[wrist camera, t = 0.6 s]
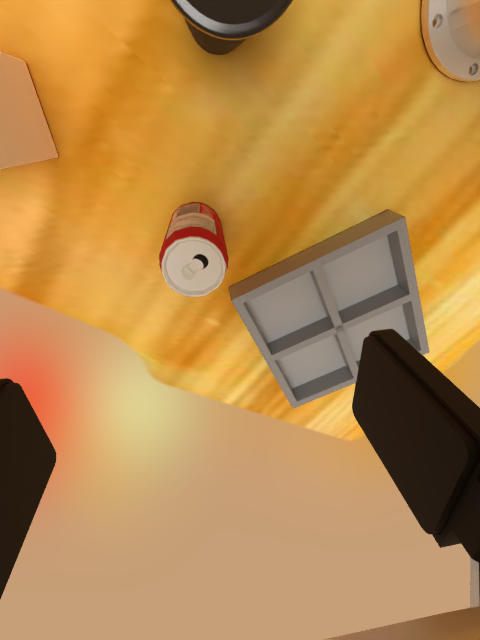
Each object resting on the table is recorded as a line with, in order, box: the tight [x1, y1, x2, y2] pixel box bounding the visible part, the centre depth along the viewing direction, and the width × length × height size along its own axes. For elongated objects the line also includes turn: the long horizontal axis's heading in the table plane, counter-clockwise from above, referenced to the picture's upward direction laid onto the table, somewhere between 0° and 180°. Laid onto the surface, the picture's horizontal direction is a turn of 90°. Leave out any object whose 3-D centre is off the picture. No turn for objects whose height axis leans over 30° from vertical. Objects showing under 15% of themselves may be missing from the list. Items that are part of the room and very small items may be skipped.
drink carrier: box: [229, 210, 429, 408], centre depth 40 cm, size 20×20×4 cm
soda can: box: [159, 202, 228, 297], centre depth 29 cm, size 6×6×12 cm
